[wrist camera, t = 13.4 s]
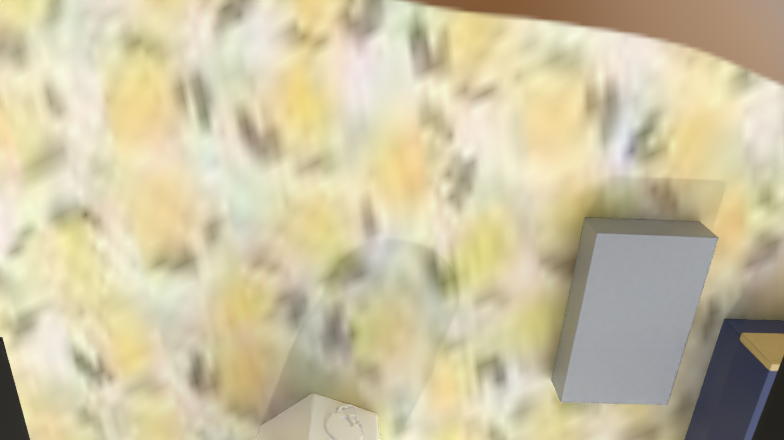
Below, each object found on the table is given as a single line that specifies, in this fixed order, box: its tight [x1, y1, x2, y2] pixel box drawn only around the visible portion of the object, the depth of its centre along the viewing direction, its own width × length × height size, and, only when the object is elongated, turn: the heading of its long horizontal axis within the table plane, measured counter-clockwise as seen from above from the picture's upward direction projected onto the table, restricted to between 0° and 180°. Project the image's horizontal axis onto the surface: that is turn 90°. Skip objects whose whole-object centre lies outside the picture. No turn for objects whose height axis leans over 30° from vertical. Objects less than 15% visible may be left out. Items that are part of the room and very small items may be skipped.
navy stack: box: [685, 319, 784, 440], centre depth 42 cm, size 12×9×5 cm
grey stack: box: [552, 217, 718, 405], centre depth 38 cm, size 12×7×5 cm, turn 177°
